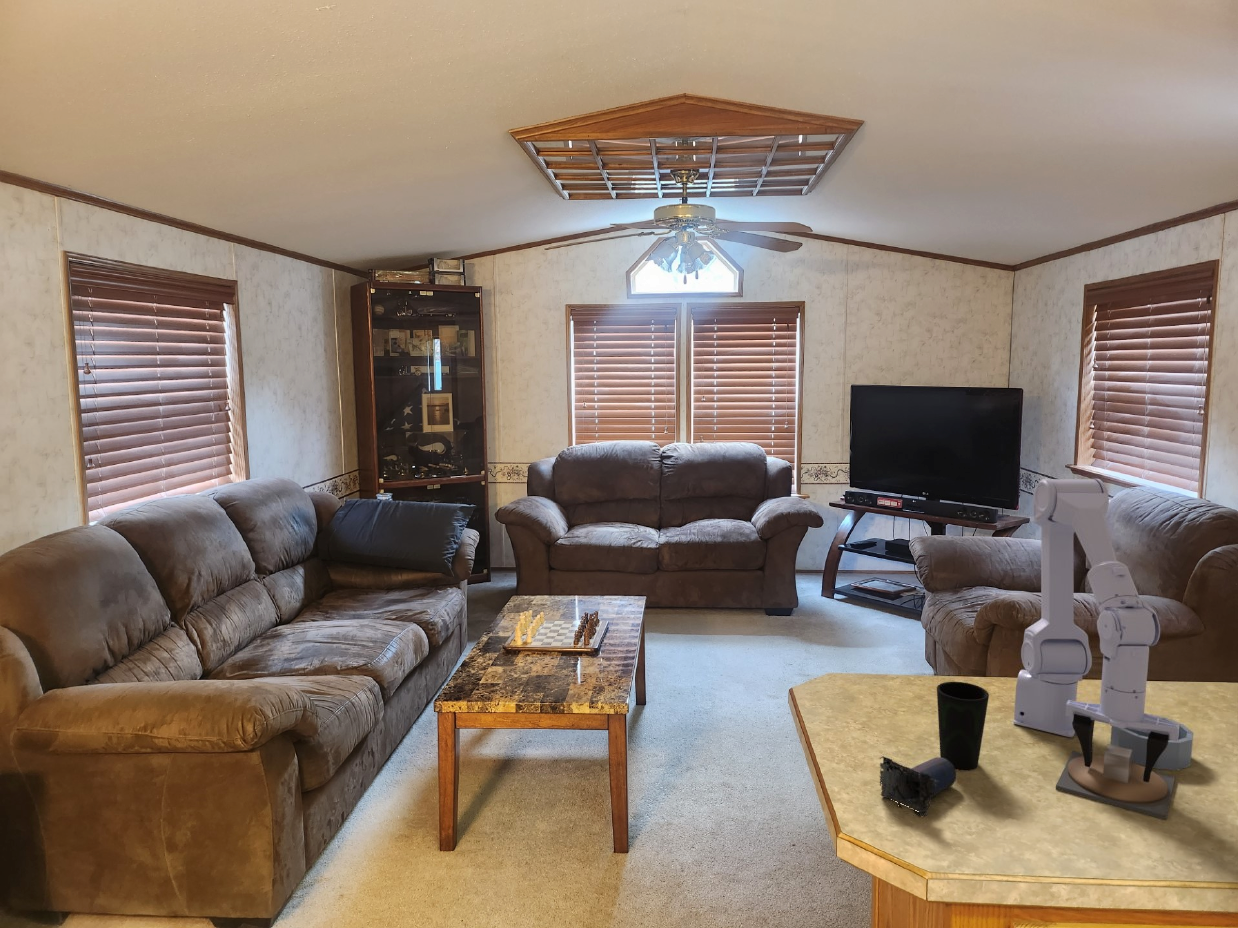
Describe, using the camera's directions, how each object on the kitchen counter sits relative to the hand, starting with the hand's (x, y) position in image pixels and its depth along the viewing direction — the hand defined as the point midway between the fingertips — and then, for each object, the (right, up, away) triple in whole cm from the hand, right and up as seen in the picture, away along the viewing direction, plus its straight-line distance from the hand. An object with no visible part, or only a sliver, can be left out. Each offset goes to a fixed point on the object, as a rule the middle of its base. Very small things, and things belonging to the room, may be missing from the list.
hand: (1116, 771), depth 127 cm
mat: (0, -2, 0) cm, 2 cm away
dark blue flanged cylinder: (-30, -3, -2) cm, 30 cm away
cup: (-21, -1, +7) cm, 22 cm away
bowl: (+11, -1, +10) cm, 15 cm away
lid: (0, -2, 0) cm, 2 cm away
